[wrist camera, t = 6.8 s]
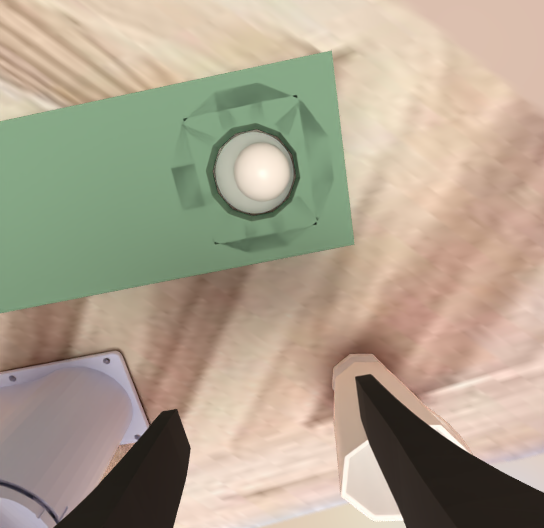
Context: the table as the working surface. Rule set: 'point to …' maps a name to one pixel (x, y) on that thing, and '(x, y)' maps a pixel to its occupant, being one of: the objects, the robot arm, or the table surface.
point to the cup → (354, 444)
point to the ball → (262, 171)
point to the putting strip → (168, 183)
